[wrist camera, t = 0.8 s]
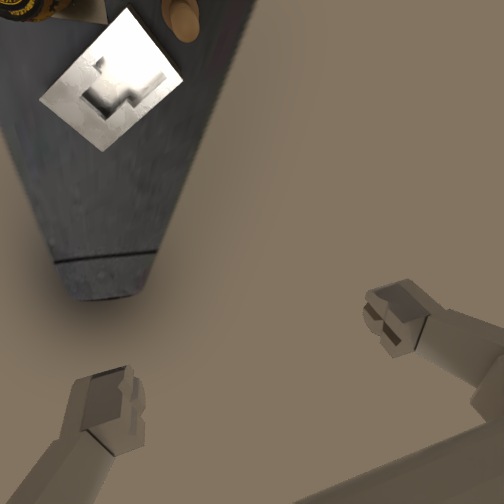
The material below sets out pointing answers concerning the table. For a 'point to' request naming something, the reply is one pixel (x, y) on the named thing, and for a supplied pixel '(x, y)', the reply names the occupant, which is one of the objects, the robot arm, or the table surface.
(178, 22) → the peg
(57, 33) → the table surface
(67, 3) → the condiment
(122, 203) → the table surface
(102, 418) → the robot arm
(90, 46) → the keyhole plate
